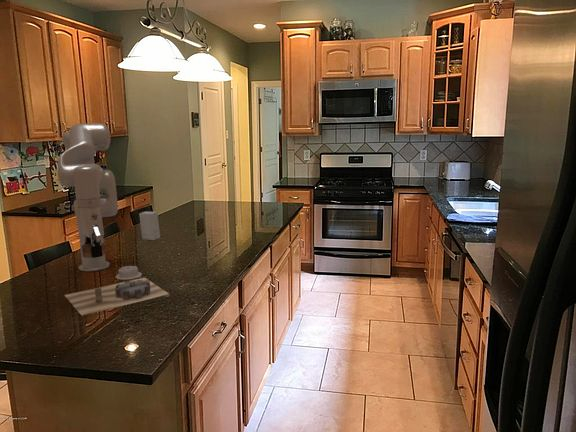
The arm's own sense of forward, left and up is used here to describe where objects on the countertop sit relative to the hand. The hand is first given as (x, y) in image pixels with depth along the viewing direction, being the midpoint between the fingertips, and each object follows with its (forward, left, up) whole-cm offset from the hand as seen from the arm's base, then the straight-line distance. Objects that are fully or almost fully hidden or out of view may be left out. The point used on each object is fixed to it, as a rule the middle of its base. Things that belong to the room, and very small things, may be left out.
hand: (94, 254), depth 158 cm
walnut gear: (0, 0, 0) cm, 0 cm away
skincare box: (-80, +50, -18) cm, 96 cm away
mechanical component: (-22, +18, -19) cm, 34 cm away
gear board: (-3, +7, -18) cm, 20 cm away
